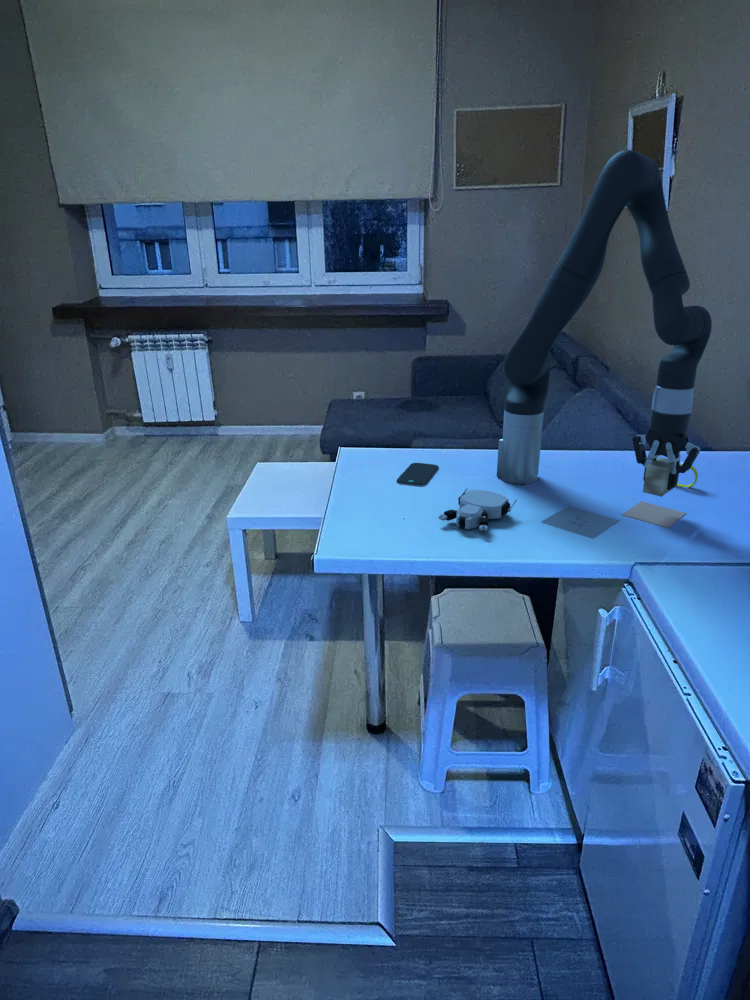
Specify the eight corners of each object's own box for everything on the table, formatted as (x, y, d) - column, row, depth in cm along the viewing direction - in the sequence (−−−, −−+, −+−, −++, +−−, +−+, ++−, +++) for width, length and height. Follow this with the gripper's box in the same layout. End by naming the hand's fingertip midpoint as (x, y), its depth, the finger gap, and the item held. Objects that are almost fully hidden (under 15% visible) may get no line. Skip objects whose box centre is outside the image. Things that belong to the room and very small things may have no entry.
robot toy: (487, 543, 138) (517, 513, 149) (487, 524, 136) (518, 495, 147) (434, 529, 144) (467, 502, 155) (434, 510, 142) (467, 483, 153)
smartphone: (394, 481, 167) (412, 461, 180) (394, 484, 167) (412, 465, 180) (424, 484, 164) (440, 464, 177) (424, 488, 164) (440, 468, 177)
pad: (621, 515, 148) (621, 514, 147) (641, 502, 154) (641, 501, 154) (667, 528, 141) (667, 527, 141) (686, 514, 148) (686, 513, 148)
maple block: (642, 492, 144) (646, 465, 142) (656, 483, 149) (659, 457, 147) (661, 496, 142) (665, 469, 140) (674, 487, 147) (678, 461, 144)
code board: (540, 522, 144) (540, 521, 144) (568, 506, 153) (568, 505, 152) (593, 539, 137) (593, 538, 137) (619, 521, 145) (619, 520, 145)
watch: (695, 488, 163) (701, 464, 160) (693, 491, 161) (699, 468, 158) (668, 481, 166) (674, 459, 163) (666, 485, 163) (672, 462, 161)
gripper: (629, 405, 141) (619, 483, 147) (700, 417, 132) (686, 499, 138) (644, 399, 146) (634, 474, 152) (714, 410, 137) (700, 489, 143)
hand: (659, 486), depth 145 cm, fingers closed on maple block, 4 cm apart
